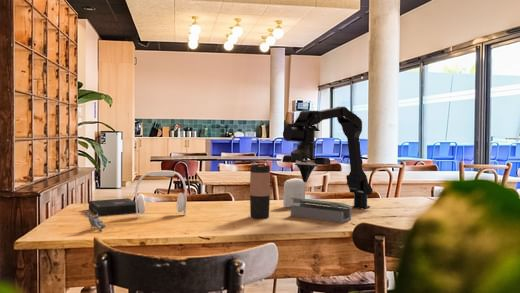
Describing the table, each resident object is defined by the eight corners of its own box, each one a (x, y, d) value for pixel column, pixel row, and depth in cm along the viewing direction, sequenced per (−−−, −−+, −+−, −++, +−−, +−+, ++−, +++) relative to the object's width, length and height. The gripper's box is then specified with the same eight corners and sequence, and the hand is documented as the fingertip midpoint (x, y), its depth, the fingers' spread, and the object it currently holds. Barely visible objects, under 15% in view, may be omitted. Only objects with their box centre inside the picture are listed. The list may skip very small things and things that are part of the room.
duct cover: (300, 205, 194) (301, 200, 195) (351, 211, 181) (352, 206, 182) (289, 202, 187) (290, 196, 188) (341, 208, 174) (342, 202, 175)
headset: (185, 213, 191) (185, 169, 190) (188, 216, 184) (188, 170, 184) (134, 216, 185) (133, 170, 184) (135, 219, 178) (135, 171, 177)
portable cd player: (141, 213, 192) (141, 203, 192) (97, 217, 183) (97, 207, 183) (129, 207, 206) (129, 198, 206) (88, 210, 197) (88, 201, 197)
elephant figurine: (117, 228, 163) (105, 224, 155) (104, 241, 163) (91, 237, 154) (100, 208, 167) (87, 203, 158) (87, 220, 166) (74, 215, 157)
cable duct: (301, 212, 195) (301, 203, 194) (351, 219, 182) (351, 209, 182) (290, 215, 188) (290, 205, 188) (341, 222, 175) (342, 212, 175)
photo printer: (300, 204, 214) (300, 177, 213) (306, 206, 210) (306, 178, 210) (281, 206, 208) (282, 178, 208) (287, 208, 205) (288, 179, 204)
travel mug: (255, 219, 179) (255, 166, 179) (246, 216, 186) (246, 165, 185) (273, 218, 183) (273, 166, 182) (263, 214, 190) (264, 164, 189)
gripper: (275, 140, 186) (273, 180, 186) (317, 142, 176) (315, 185, 176) (290, 141, 196) (288, 180, 196) (331, 143, 185) (329, 184, 185)
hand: (304, 182), depth 188 cm, fingers closed
